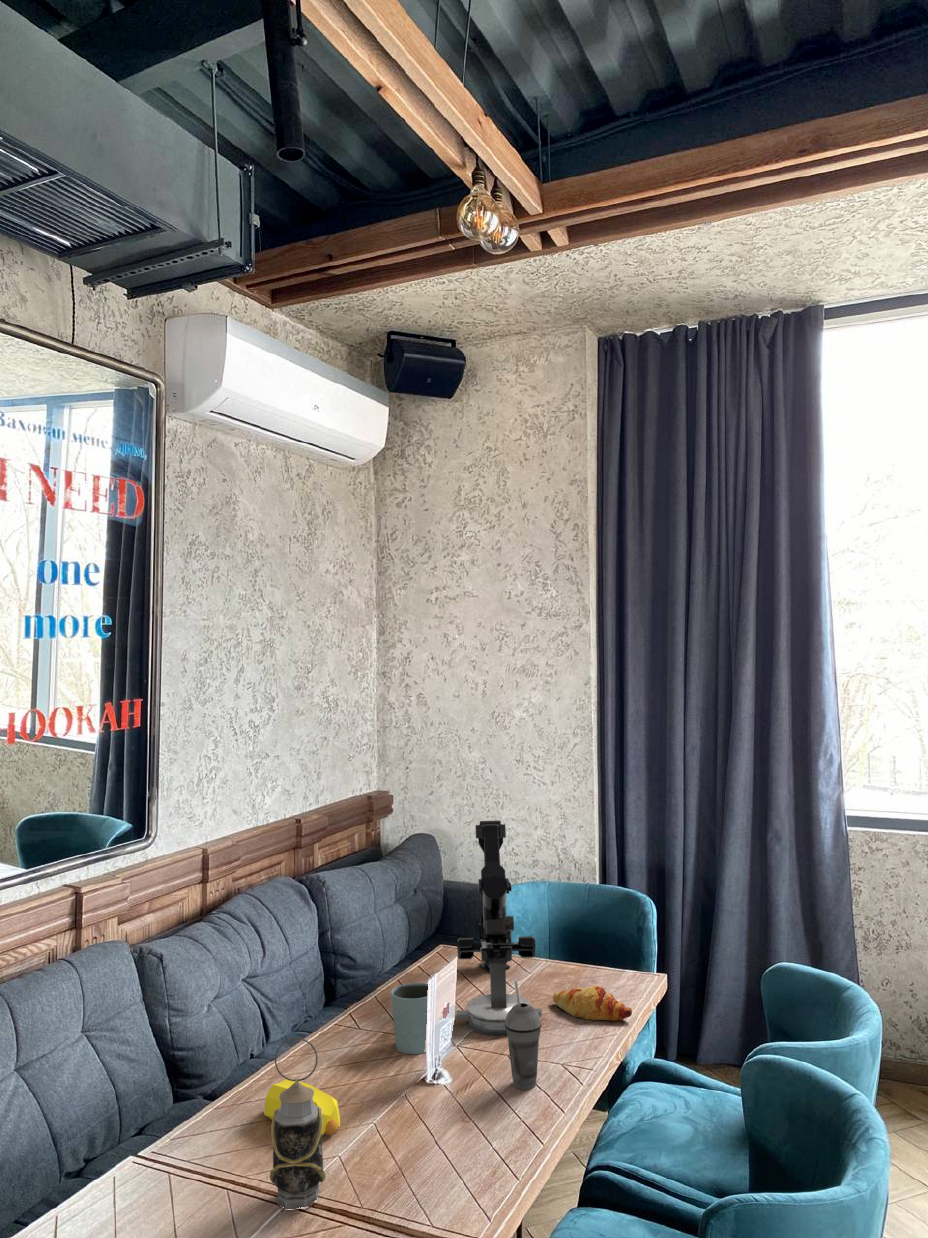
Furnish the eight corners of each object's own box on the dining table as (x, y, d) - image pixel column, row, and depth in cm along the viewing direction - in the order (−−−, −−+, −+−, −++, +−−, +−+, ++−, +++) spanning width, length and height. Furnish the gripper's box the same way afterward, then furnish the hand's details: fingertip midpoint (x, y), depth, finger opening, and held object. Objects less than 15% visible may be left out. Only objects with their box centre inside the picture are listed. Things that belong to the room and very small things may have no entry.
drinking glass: (417, 1060, 195) (416, 1002, 196) (382, 1048, 201) (380, 992, 202) (447, 1043, 203) (445, 988, 204) (412, 1033, 209) (411, 979, 210)
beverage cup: (540, 1094, 178) (537, 989, 179) (503, 1091, 180) (500, 987, 181) (545, 1077, 185) (542, 976, 186) (509, 1075, 187) (506, 974, 188)
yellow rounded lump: (286, 1102, 178) (254, 1118, 172) (285, 1067, 178) (253, 1082, 173) (351, 1130, 167) (319, 1149, 161) (350, 1093, 167) (318, 1109, 161)
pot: (457, 1012, 220) (456, 1000, 220) (539, 1010, 220) (538, 998, 220) (456, 1037, 206) (456, 1023, 206) (544, 1034, 206) (543, 1021, 206)
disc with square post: (467, 997, 221) (466, 952, 221) (528, 996, 221) (526, 950, 221) (467, 1021, 206) (466, 972, 207) (532, 1020, 206) (531, 971, 207)
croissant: (547, 1022, 222) (538, 997, 219) (565, 991, 229) (556, 967, 227) (627, 1040, 209) (618, 1014, 207) (643, 1007, 217) (635, 981, 214)
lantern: (329, 1183, 150) (326, 1027, 151) (323, 1213, 142) (320, 1047, 143) (275, 1186, 149) (272, 1029, 150) (266, 1216, 141) (263, 1050, 142)
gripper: (456, 904, 222) (457, 966, 211) (533, 902, 222) (538, 964, 211) (457, 928, 230) (458, 989, 218) (532, 926, 230) (537, 987, 218)
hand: (497, 982), depth 216 cm, fingers closed
